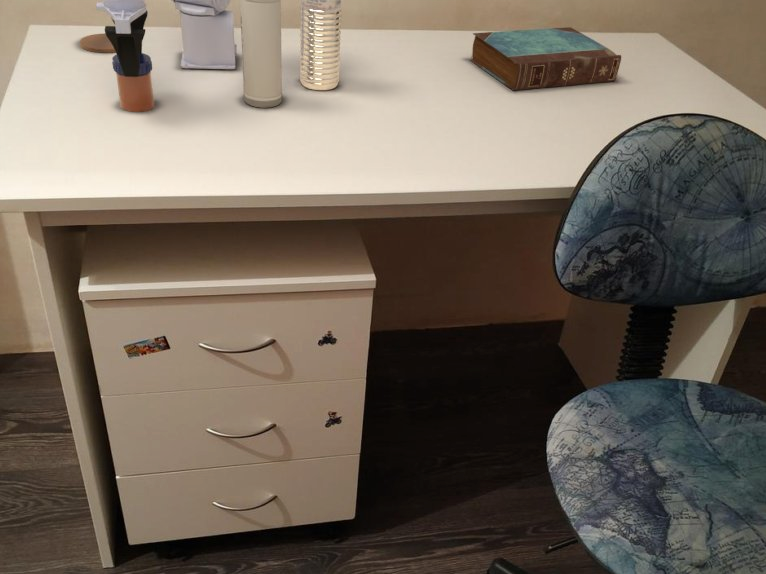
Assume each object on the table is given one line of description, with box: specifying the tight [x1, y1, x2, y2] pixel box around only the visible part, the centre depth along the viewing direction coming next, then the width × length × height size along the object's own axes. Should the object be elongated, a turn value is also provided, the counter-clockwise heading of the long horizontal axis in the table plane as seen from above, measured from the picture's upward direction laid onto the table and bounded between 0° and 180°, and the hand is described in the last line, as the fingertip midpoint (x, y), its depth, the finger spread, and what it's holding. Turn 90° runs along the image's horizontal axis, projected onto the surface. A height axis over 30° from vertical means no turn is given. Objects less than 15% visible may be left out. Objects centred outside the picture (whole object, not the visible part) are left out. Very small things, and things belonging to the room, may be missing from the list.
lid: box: [111, 52, 153, 75], centre depth 124 cm, size 6×6×2 cm
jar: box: [115, 71, 155, 113], centre depth 126 cm, size 5×5×7 cm
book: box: [469, 26, 622, 91], centre depth 154 cm, size 23×18×5 cm
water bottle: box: [299, 0, 342, 91], centre depth 133 cm, size 7×7×25 cm
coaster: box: [79, 33, 116, 54], centre depth 148 cm, size 9×9×1 cm
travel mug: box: [239, 0, 283, 109], centre depth 127 cm, size 6×7×20 cm
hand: (132, 68), depth 124 cm, fingers open, 6 cm apart
